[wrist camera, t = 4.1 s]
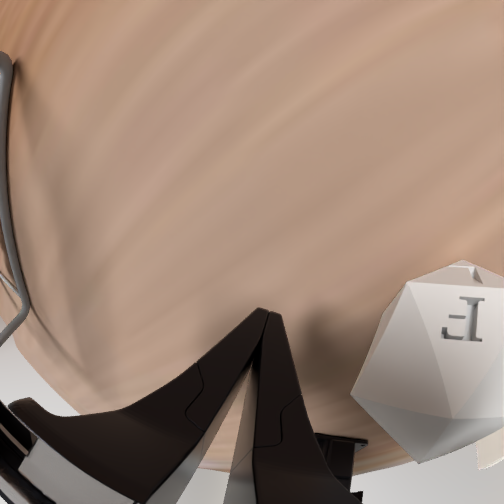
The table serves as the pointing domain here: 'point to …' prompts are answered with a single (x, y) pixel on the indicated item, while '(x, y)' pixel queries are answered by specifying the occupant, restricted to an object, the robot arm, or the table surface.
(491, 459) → the board
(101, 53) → the table surface
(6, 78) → the newton's cradle
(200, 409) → the robot arm
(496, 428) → the die
